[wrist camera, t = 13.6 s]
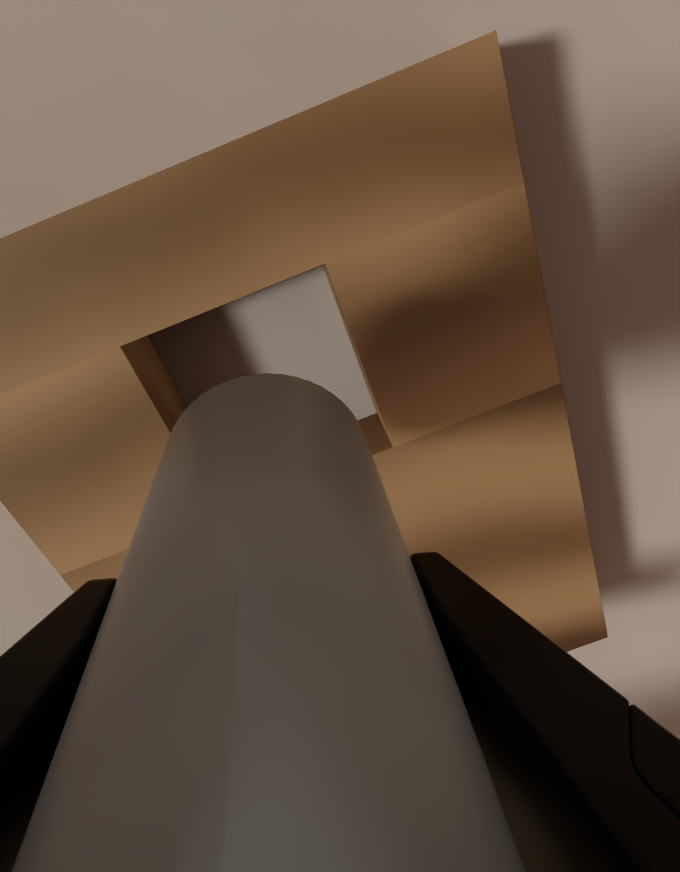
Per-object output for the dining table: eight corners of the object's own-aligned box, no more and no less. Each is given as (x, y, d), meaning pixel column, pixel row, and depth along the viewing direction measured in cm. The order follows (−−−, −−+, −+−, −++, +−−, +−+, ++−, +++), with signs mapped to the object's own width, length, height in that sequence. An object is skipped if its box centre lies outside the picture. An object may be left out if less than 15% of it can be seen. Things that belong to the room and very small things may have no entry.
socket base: (574, 591, 23) (607, 637, 21) (226, 718, 24) (222, 775, 22) (459, 52, 14) (496, 30, 12) (-95, 284, 15) (-158, 305, 13)
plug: (416, 518, 12) (810, 1434, 3) (212, 594, 13) (82, 1634, 4) (340, 313, 10) (922, 1438, 1) (94, 411, 10) (-1003, 1962, 1)
